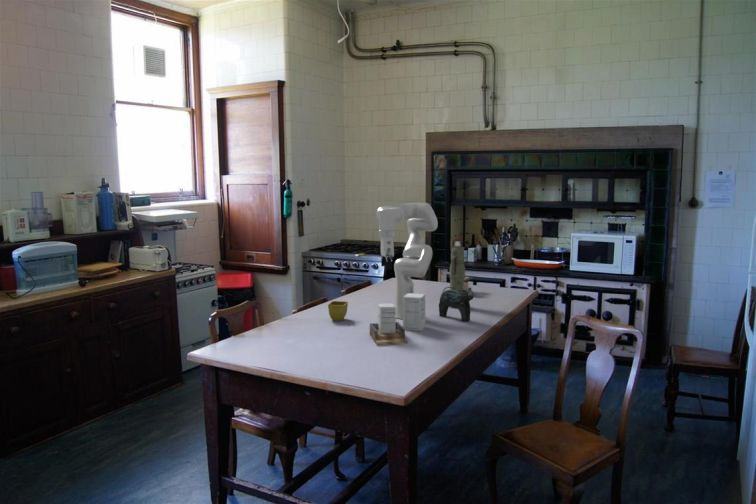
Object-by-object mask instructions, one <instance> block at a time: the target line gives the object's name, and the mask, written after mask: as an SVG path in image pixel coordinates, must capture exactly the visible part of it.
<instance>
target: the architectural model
mask: <svg viewBox="0 0 756 504" xmlns="http://www.w3.org/2000/svg"><path fill="white" fill-rule="evenodd" d="M473 279H474V276H472V275H471V276H469V275H467V276H466V275H465V278H464V289H469V288H470V281H472V280H473Z"/></svg>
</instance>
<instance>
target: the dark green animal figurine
mask: <svg viewBox="0 0 756 504" xmlns="http://www.w3.org/2000/svg"><path fill="white" fill-rule="evenodd" d="M458 283H460V282H458ZM456 284H457V283H456ZM460 284H461V283H460ZM450 288H452V287H450V286H446V287H445V288H444V289H443V290H442V293H441V294H440V298H439V303H438V312H439V317H440V318H445V317H447V314H448V310H449V308H450V306H451V307H454V308H453V309H458V311H459V313H460V316H461V319H460V321H461V322H465V321H466V322H467V321H468V322H470V321H471V304H470V301H472V300H473V299H474V298H475V297H474V296H475V294H474V291H473V290H472V287H471V286H469V289H464V287H463V289H462V284H461V289H462V290H456V289H454V288H453V289H454V290H450ZM469 320H470V321H469Z"/></svg>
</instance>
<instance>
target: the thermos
mask: <svg viewBox="0 0 756 504" xmlns="http://www.w3.org/2000/svg"><path fill="white" fill-rule="evenodd" d="M450 261H451V262H450V266H449V280H450V281H449V284H450V285H449V287H452V288H449V290H454V289H456V290H462V289H463V287H464V278H465V276H466V267H465V262H464V261H465V249H464V247H463V246H462V245H461V246H459V245H455V246H452V248H451V252H450ZM458 282H460V283H461V284H462V289H461V284H460V283H458ZM456 283H457V284H456ZM453 288H454V289H453ZM450 307H451V306H450ZM450 307H449V308H450ZM450 309H455V308H454V307H451V308H450Z"/></svg>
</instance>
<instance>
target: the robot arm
mask: <svg viewBox="0 0 756 504" xmlns="http://www.w3.org/2000/svg"><path fill="white" fill-rule="evenodd" d="M375 215H376V218H377V220H378V236H379V237H380V255H381V256H380V257H381V259H380V260H381V261H380V263H381V267H385V270H386V271H387V270H388V271H389V270H392V269H393V270H394V276H395V307H396V319H400V320H403V297H404V296H405V295H406V294H408V293H412V294H415V293H414V289H415V288H414V285H415V284H414V282H413V279H412V278H424V277H425V275H426V274H427V271H428V269H429V267H430V264H431V261H432V259H433V249H432V247H431V246H430V245H429V244H424V241H425V239H424V237H423V236H422V233H420V232H435V231H436V230H437V229H438V223H439V222H438V217H437V215H436V214H435V210H433V208H432V206H431V204H430V203H428V202H409V203H401V204H399V203H398V204H392V205H390V204H389V205H381V206H380V207H378V208H377V211H376V214H375ZM402 221H407V222H406V223H407V226H406V227H407V232H408V239H407V242H406V244H405V246H404V249H403V252H402V257H400V258H397V259H396V260H395V262H394V263H393V258H394V256H395V245H394V237H395V223H400V222H402Z"/></svg>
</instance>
